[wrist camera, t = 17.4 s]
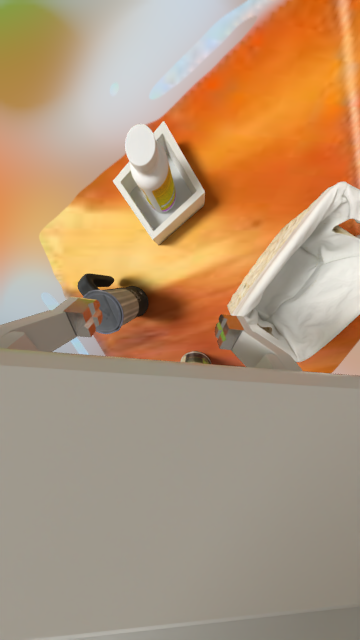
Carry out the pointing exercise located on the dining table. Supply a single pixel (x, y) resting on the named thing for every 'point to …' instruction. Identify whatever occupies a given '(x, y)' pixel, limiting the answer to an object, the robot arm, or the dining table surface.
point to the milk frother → (113, 301)
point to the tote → (186, 187)
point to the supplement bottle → (150, 168)
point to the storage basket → (306, 278)
